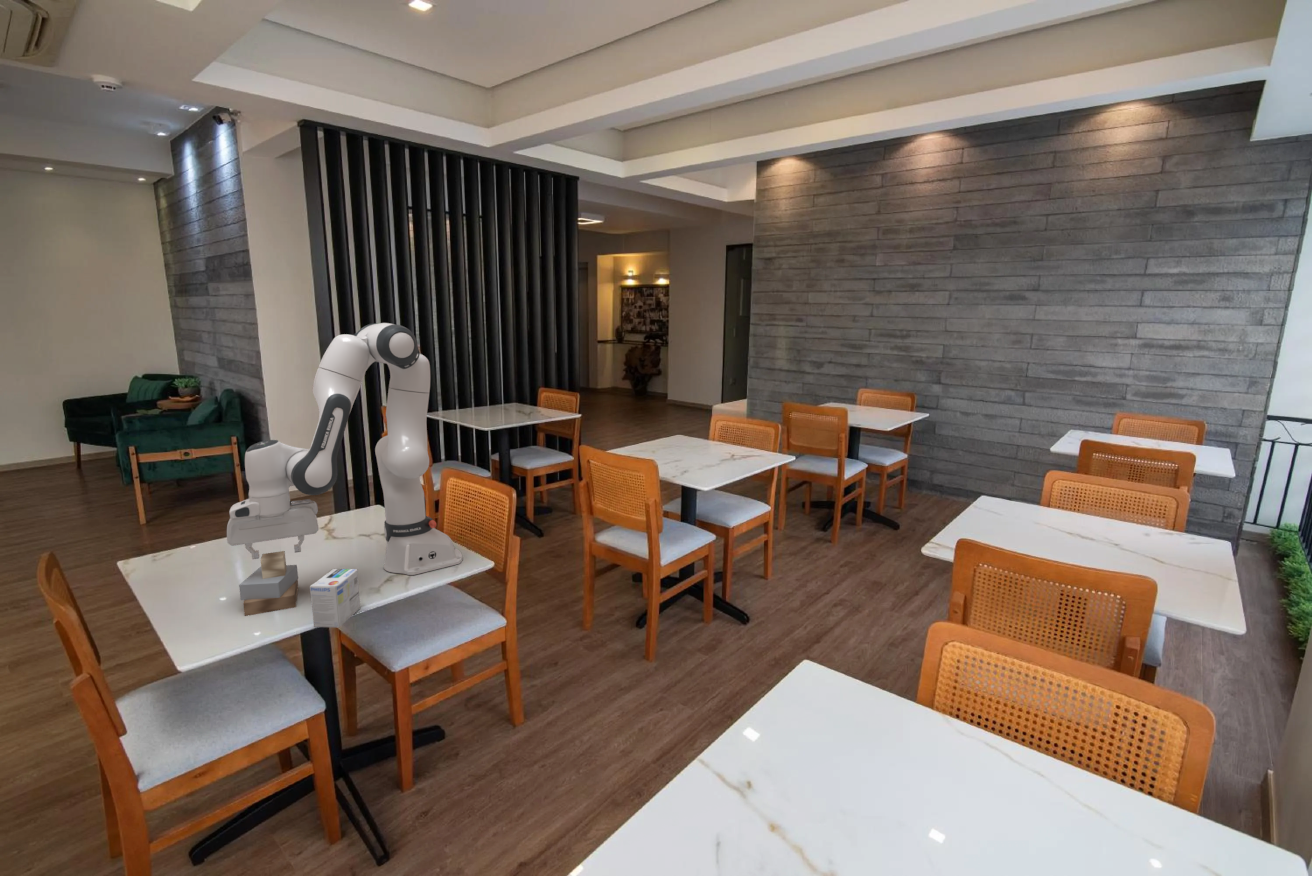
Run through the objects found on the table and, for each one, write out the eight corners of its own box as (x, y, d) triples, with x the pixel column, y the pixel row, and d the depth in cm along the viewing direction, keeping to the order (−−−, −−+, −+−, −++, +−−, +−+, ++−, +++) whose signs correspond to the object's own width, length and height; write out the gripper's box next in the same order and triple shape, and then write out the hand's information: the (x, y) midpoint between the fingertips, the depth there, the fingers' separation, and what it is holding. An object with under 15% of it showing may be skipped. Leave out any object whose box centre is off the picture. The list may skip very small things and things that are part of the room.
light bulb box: (336, 607, 161) (332, 567, 159) (362, 608, 161) (358, 568, 159) (312, 627, 151) (308, 585, 149) (340, 628, 150) (336, 586, 148)
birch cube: (286, 568, 167) (284, 550, 166) (285, 575, 162) (283, 557, 162) (264, 571, 165) (262, 553, 164) (262, 579, 160) (260, 560, 159)
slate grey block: (298, 578, 170) (296, 564, 170) (279, 597, 159) (278, 582, 158) (262, 580, 169) (260, 566, 168) (240, 600, 157) (239, 585, 157)
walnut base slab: (298, 589, 173) (297, 575, 173) (295, 609, 161) (294, 595, 160) (251, 596, 168) (250, 582, 168) (245, 618, 156) (243, 603, 155)
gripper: (316, 495, 168) (322, 544, 171) (225, 506, 159) (232, 558, 161) (316, 501, 163) (322, 551, 165) (221, 513, 153) (229, 566, 156)
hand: (277, 555), depth 163 cm, fingers open, 8 cm apart
